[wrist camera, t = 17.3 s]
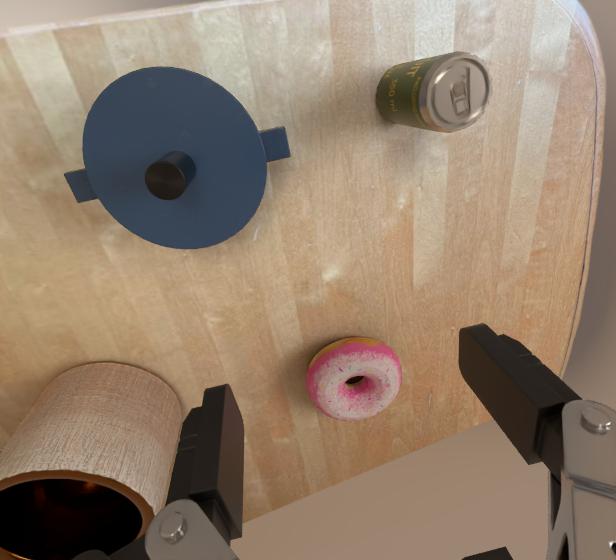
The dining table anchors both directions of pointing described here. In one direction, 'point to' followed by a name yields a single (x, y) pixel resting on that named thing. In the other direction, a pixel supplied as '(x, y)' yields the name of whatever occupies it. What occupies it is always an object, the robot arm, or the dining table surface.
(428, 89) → the beer can
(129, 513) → the planter
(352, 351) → the donut
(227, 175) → the lid
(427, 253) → the dining table surface
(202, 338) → the dining table surface
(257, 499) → the dining table surface
